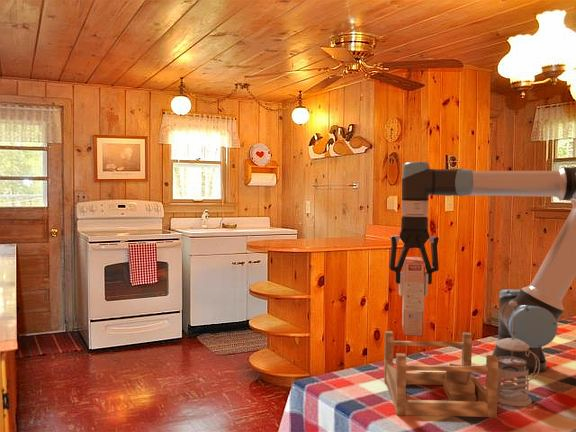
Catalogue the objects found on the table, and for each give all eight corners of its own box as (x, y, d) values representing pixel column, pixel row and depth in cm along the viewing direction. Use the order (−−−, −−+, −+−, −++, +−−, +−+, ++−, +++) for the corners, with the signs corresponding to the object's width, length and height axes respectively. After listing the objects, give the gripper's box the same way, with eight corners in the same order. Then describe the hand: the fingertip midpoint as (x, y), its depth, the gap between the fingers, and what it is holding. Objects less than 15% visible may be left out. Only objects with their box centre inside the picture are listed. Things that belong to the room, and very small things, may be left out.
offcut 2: (468, 383, 137) (468, 374, 137) (474, 395, 129) (475, 385, 129) (444, 382, 138) (444, 372, 137) (449, 393, 130) (450, 384, 130)
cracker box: (424, 337, 144) (425, 262, 143) (402, 336, 145) (403, 261, 145) (422, 325, 158) (422, 256, 157) (401, 324, 159) (402, 255, 158)
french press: (484, 390, 137) (486, 296, 136) (529, 391, 137) (531, 297, 136) (498, 405, 127) (500, 304, 126) (546, 406, 127) (549, 305, 126)
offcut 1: (469, 375, 135) (469, 366, 135) (466, 385, 129) (466, 375, 129) (449, 373, 137) (449, 363, 137) (445, 382, 131) (446, 372, 131)
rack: (468, 383, 142) (469, 332, 142) (496, 417, 121) (498, 357, 120) (384, 381, 144) (384, 331, 143) (396, 414, 122) (397, 355, 121)
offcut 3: (466, 391, 138) (466, 382, 137) (476, 405, 129) (476, 395, 128) (443, 391, 138) (443, 381, 138) (451, 404, 129) (451, 395, 129)
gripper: (382, 215, 147) (381, 296, 148) (452, 216, 146) (450, 298, 147) (379, 214, 154) (377, 291, 155) (445, 215, 154) (443, 293, 155)
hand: (413, 294), depth 151 cm, fingers closed on cracker box, 6 cm apart
